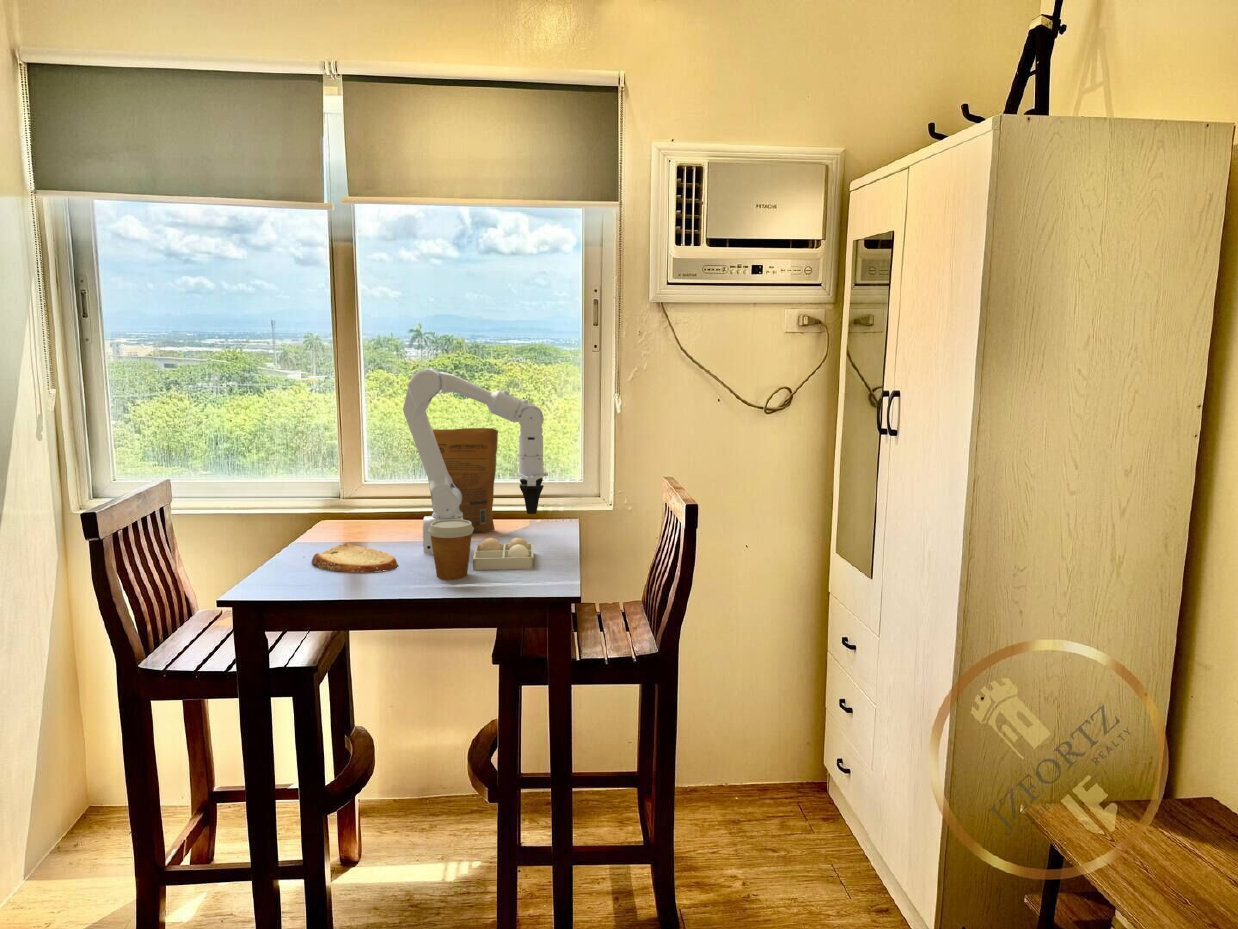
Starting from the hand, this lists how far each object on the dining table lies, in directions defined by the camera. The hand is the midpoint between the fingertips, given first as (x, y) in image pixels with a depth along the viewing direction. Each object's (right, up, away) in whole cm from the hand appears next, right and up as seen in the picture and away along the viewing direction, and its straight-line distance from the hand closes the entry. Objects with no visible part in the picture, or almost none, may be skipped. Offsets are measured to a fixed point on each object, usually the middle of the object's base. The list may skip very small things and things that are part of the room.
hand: (531, 510), depth 194 cm
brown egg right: (-2, -10, -7) cm, 13 cm away
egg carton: (-5, -12, -11) cm, 17 cm away
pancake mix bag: (-20, -7, +21) cm, 30 cm away
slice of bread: (-39, -12, -12) cm, 42 cm away
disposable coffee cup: (-14, -13, -23) cm, 30 cm away
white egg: (-1, -11, -14) cm, 18 cm away
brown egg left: (-9, -11, -8) cm, 16 cm away
